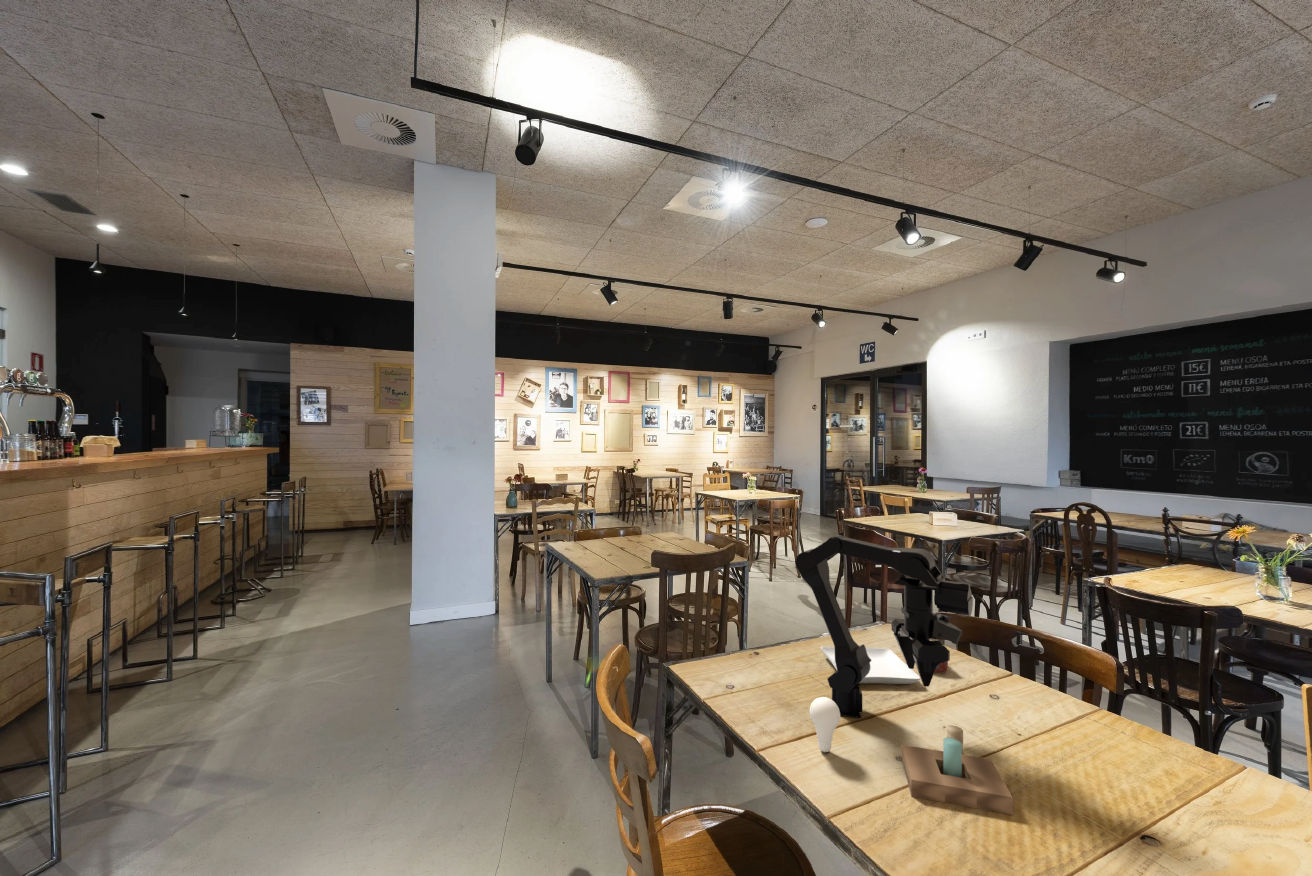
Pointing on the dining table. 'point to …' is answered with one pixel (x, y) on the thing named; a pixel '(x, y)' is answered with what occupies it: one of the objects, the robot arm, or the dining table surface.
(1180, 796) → the dining table surface
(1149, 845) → the dining table surface
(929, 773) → the walnut hole block
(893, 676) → the salad plate
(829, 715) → the lightbulb
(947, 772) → the long teal pin
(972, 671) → the dining table surface
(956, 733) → the short beech pin
